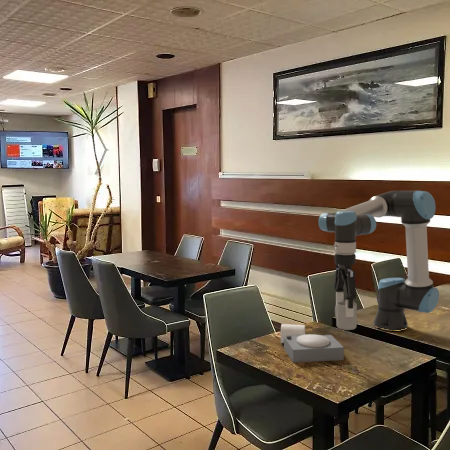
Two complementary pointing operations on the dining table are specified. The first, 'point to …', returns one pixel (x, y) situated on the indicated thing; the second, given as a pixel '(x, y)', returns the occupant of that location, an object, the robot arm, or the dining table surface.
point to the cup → (342, 320)
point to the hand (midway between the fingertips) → (344, 312)
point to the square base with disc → (313, 348)
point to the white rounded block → (291, 331)
